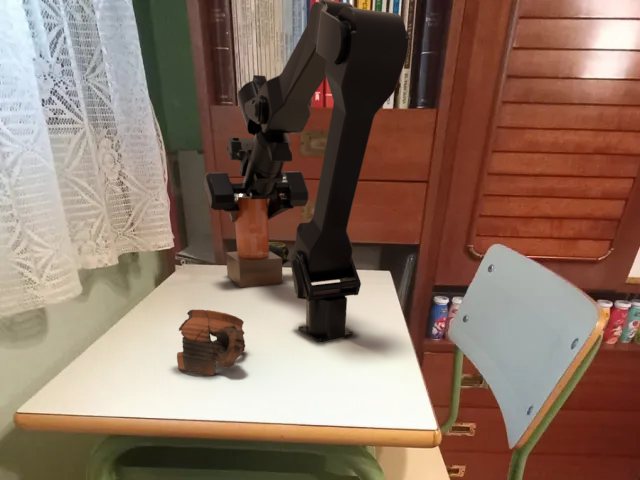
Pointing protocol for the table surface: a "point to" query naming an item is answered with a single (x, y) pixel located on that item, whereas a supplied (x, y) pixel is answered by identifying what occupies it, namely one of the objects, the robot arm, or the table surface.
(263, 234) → the tumbler
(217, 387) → the table surface
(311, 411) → the table surface
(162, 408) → the table surface
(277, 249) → the tape measure
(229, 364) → the pottery mug
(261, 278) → the block
